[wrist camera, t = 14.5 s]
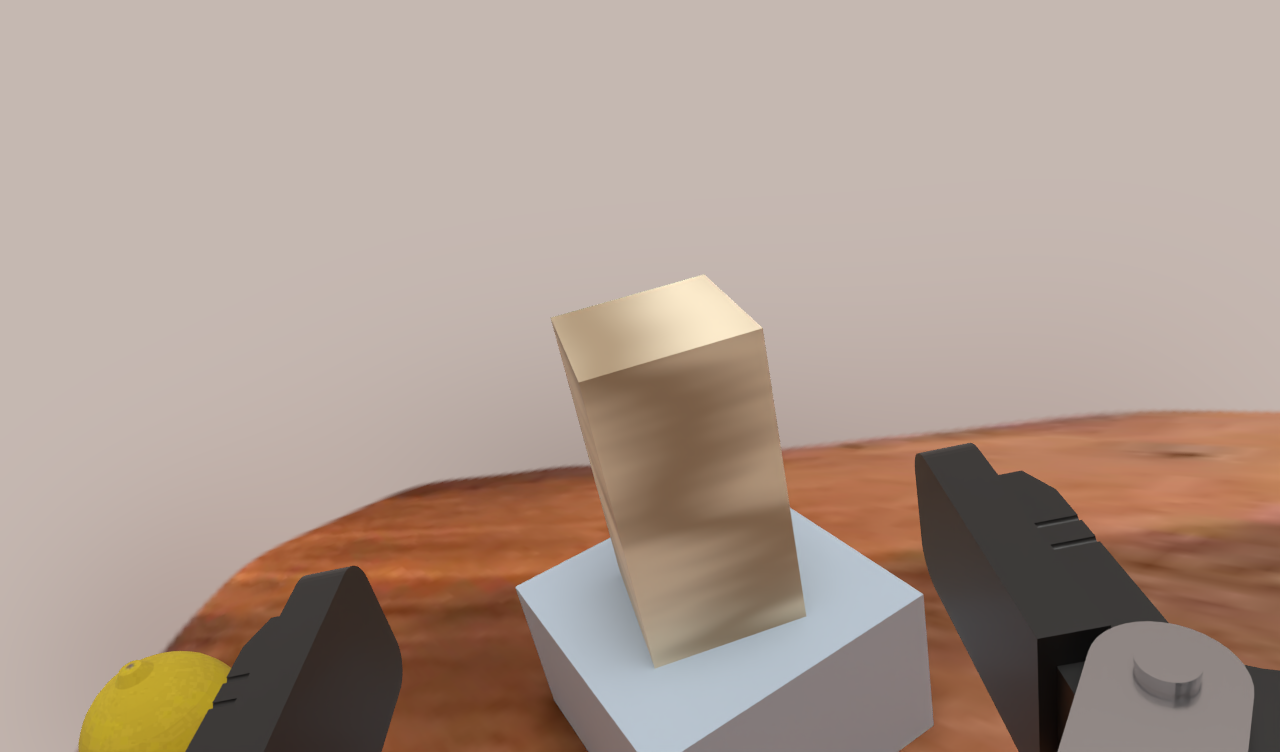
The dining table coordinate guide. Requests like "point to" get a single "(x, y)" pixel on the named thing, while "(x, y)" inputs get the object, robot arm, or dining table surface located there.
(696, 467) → the birch block
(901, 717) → the slate block
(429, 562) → the dining table surface
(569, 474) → the dining table surface
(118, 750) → the lemon
